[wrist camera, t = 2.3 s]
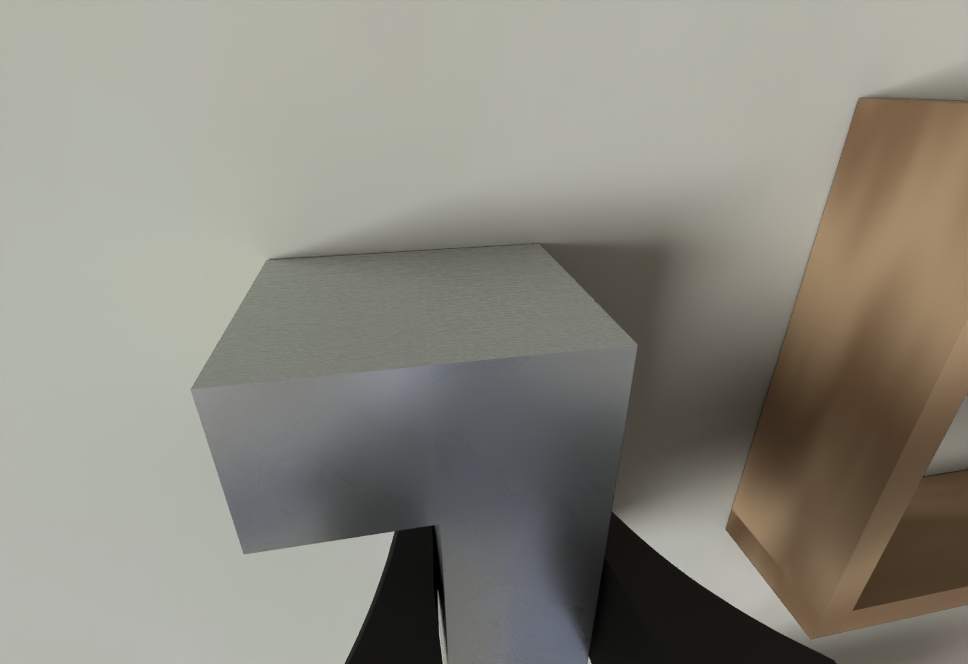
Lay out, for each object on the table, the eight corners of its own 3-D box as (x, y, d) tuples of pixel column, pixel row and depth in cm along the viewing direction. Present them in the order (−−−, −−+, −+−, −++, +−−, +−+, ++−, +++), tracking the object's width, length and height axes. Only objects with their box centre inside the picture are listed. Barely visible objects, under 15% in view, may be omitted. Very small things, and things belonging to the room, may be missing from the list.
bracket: (524, 542, 16) (579, 716, 12) (332, 574, 15) (315, 776, 11) (538, 243, 12) (637, 345, 7) (266, 260, 11) (190, 389, 6)
